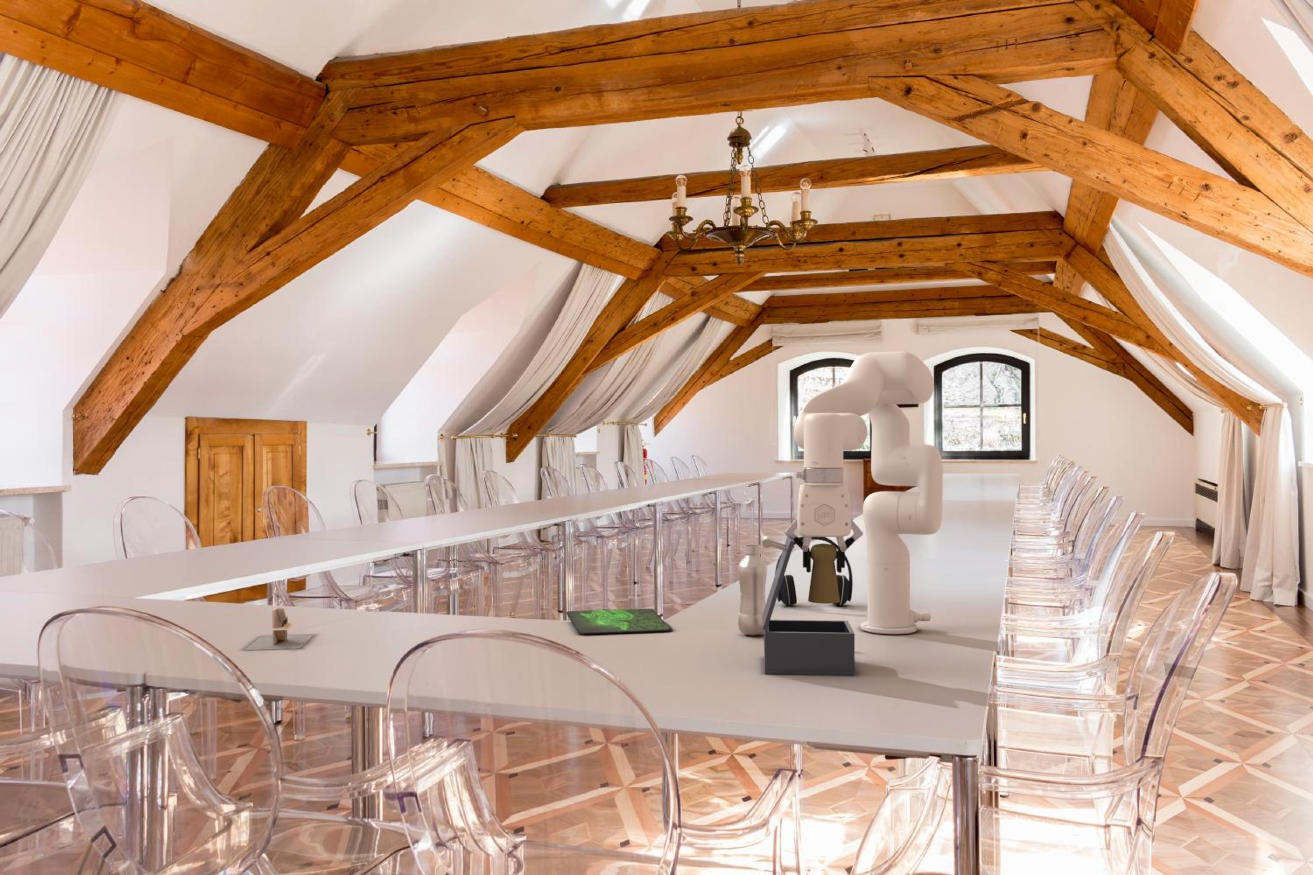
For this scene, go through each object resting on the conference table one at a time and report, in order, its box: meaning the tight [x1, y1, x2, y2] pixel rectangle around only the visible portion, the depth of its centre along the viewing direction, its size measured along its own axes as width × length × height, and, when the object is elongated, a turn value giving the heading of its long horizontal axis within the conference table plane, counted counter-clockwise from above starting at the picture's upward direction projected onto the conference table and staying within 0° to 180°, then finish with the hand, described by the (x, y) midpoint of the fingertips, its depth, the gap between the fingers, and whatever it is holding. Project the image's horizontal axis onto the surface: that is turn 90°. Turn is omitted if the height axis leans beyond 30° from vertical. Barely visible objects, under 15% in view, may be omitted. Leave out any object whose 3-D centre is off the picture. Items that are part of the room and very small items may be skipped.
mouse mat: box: [566, 608, 673, 635], centre depth 249 cm, size 27×22×1 cm
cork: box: [807, 543, 840, 605], centre depth 201 cm, size 6×6×11 cm
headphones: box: [774, 536, 854, 607], centre depth 273 cm, size 20×7×18 cm, turn 89°
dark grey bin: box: [763, 619, 856, 676], centre depth 201 cm, size 17×14×8 cm
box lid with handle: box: [761, 535, 795, 630], centre depth 202 cm, size 17×14×6 cm
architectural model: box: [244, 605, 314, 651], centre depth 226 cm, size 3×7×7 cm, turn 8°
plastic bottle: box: [737, 544, 768, 636], centre depth 234 cm, size 6×7×20 cm
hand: (823, 570), depth 201 cm, fingers closed on cork, 5 cm apart
